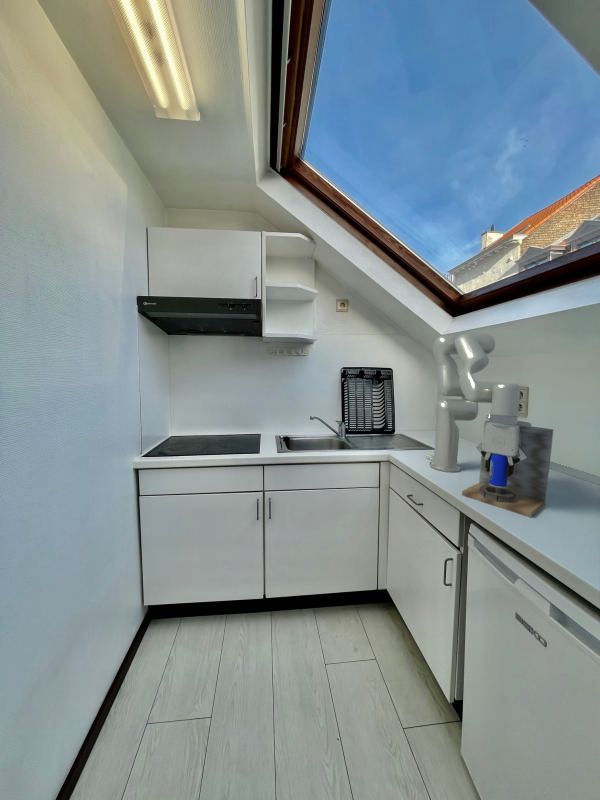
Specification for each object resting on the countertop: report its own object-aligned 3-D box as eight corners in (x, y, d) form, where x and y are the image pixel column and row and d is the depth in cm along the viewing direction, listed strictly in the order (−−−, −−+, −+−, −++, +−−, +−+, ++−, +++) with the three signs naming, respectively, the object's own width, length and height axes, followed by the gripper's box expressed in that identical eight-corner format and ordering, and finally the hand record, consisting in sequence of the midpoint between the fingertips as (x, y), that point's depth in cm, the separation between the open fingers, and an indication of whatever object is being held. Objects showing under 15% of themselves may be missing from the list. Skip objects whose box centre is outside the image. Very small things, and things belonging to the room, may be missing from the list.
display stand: (461, 495, 107) (467, 424, 104) (480, 485, 117) (486, 420, 114) (530, 517, 91) (539, 434, 89) (545, 504, 101) (553, 429, 99)
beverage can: (489, 481, 106) (493, 439, 105) (507, 485, 103) (511, 442, 101) (487, 485, 102) (491, 442, 101) (505, 489, 99) (509, 444, 97)
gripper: (471, 417, 105) (467, 468, 106) (531, 425, 91) (525, 483, 93) (480, 416, 109) (476, 465, 111) (538, 423, 96) (532, 478, 98)
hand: (498, 472), depth 102 cm, fingers closed on beverage can, 5 cm apart
